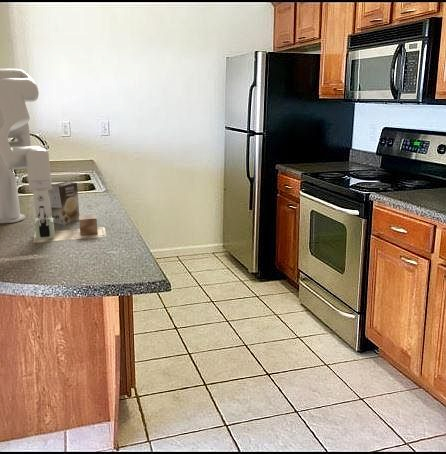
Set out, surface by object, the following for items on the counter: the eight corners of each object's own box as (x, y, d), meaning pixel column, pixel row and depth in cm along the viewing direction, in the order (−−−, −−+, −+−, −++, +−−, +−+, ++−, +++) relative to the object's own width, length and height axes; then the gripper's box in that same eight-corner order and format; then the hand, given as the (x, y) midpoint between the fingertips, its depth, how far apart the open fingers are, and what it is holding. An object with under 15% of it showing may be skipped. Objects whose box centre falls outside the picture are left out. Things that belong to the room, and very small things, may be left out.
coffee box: (64, 227, 194) (60, 186, 190) (52, 225, 197) (48, 185, 193) (80, 221, 202) (77, 182, 198) (68, 219, 205) (65, 181, 201)
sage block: (36, 239, 175) (34, 223, 173) (37, 234, 181) (35, 218, 179) (54, 238, 177) (52, 221, 175) (54, 233, 182) (53, 217, 181)
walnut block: (80, 235, 179) (79, 219, 178) (80, 231, 185) (78, 215, 183) (97, 234, 181) (96, 218, 179) (96, 230, 186) (95, 214, 185)
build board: (32, 245, 172) (32, 242, 172) (35, 235, 184) (34, 232, 184) (107, 239, 179) (106, 235, 178) (104, 229, 191) (104, 226, 190)
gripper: (50, 188, 167) (55, 240, 171) (52, 179, 183) (57, 227, 187) (26, 189, 165) (32, 241, 169) (30, 180, 181) (35, 228, 185)
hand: (45, 233), depth 178 cm, fingers closed on sage block, 6 cm apart
